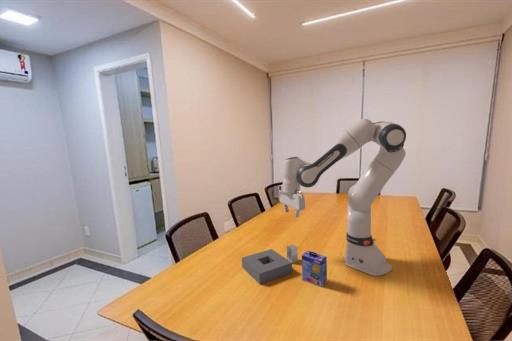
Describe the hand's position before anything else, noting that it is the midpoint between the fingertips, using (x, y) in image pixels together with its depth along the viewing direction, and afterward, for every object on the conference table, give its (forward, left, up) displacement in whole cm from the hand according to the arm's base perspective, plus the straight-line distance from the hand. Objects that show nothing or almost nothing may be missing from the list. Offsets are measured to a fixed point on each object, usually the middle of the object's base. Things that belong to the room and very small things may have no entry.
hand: (291, 214), depth 129 cm
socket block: (-2, +17, -25) cm, 30 cm away
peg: (-2, +1, -25) cm, 25 cm away
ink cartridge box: (-22, +4, -25) cm, 33 cm away
